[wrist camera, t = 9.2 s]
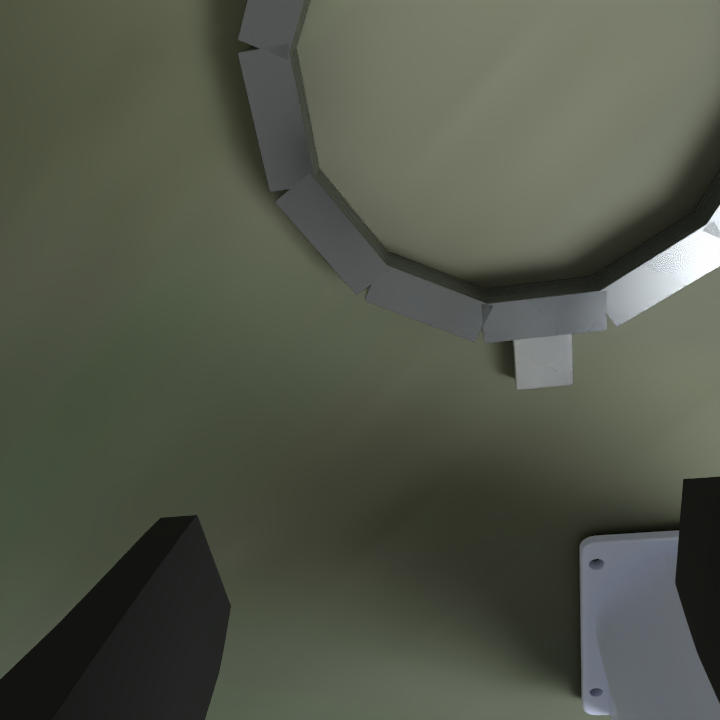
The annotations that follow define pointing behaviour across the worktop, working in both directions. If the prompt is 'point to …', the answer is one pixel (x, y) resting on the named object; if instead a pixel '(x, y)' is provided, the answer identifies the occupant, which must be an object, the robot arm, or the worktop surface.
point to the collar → (425, 285)
